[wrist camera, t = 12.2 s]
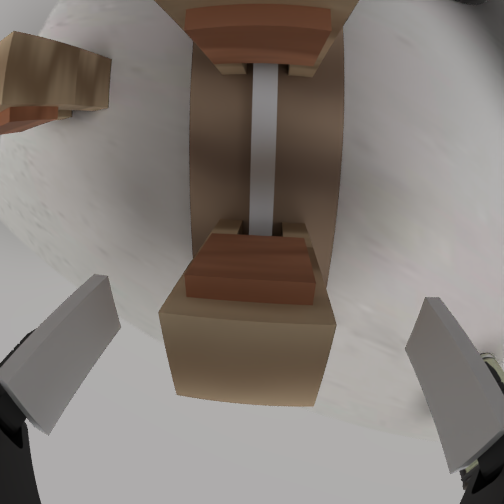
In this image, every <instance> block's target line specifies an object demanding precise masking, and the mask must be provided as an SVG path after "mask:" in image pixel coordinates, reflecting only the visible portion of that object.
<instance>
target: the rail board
mask: <svg viewBox="0 0 504 504" xmlns="http://www.w3.org/2000/svg"><path fill="white" fill-rule="evenodd" d="M343 125H344V41H343V27H342V29H341V30H340V32H339V34H338V35H337V37H336V38H335V40H334V42H333V43H332V45H331V47H330V48H329V50H328V52H327V53H326V55H325V57H324V59H323V60H322V62H321V64H320V65H319V67H318V69H317V70H316V72H315V74H314V76H313V77H304V76H291V75H288V64H271V63H247V70H246V74H228V75H222V74H221V72H220V71H219V70H218V69H217V68H216V66H215V65H214V64H213V63H212V62H211V61H210V59H209V58H208V57H207V56H206V55H205V54H204V53H203V51H202V50H201V49H200V48H199V47H198V46H197V45H196V43H195V42H194V41H193V53H192V69H191V91H190V134H189V164H190V209H191V232H192V251H193V258H194V257H195V255H196V254H197V252H198V251H199V249H200V248H201V246H202V245H203V243H204V242H205V240H206V239H207V237H208V236H209V234H210V233H211V232H212V230H213V229H214V227H215V226H216V224H217V223H218V221H219V220H220V219H227V220H243V226H242V235H260V236H279V237H281V231H282V222H289V223H305V225H306V228H307V231H308V234H309V237H310V240H311V243H312V246H313V249H314V252H315V255H316V258H317V261H318V264H319V268H320V271H321V274H322V277H323V280H324V284H325V287H327V281H328V275H329V268H330V262H331V255H332V248H333V240H334V233H335V225H336V216H337V207H338V197H339V186H340V175H341V161H342V146H343Z"/></svg>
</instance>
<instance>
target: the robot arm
mask: <svg viewBox="0 0 504 504" xmlns="http://www.w3.org/2000/svg"><path fill="white" fill-rule="evenodd" d="M456 1H459V2H462V3H466V4H473V5H476V4H481V3H484V2H486V1H488V0H456ZM120 328H121V325H120V322H119V318H118V315H117V311H116V307H115V303H114V300H113V296H112V292H111V287H110V283H109V279H108V276H105V275H97V274H94V275H93V276H92V277H91V278H89V279H88V280H87V281H86V282H85V283H84V284H83V285H82V286H81V287H79V288H78V289H77V290H76V291H75V292H74V293H73V294H72V295H71V296H70V297H69V298H67V299H66V300H65V301H64V302H63V303H62V304H61V305H60V306H59V307H58V308H57V309H56V310H55V311H54V312H53V313H52V314H51V315H50V316H49V317H48V318H47V319H46V320H45V321H44V322H43V323H42V324H41V325H40V326H39V327H38V328H36V329H35V330H33V331H31V332H30V333H28V334H27V335H26V336H25V337H24V338H23V339H22V340H21V341H20V344H17V346H16V347H15V348H14V350H12V351H11V352H10V353H9V354H8V355H7V357H6V358H5V359H4V360H3V361H2V362H1V363H0V504H41V501H40V498H39V494H38V490H37V485H36V481H35V476H34V471H33V466H32V460H31V453H30V446H29V437H28V429H27V425H26V423H25V422H24V421H25V419H26V418H27V419H28V420H29V421H30V422H31V423H32V424H33V425H34V427H36V428H37V429H39V430H41V431H42V432H44V433H45V434H47V435H49V434H50V433H51V431H52V429H53V428H54V426H55V424H56V423H57V421H58V419H59V418H60V416H61V415H62V413H63V411H64V409H65V408H66V407H67V405H68V404H69V402H70V400H71V399H72V397H73V396H74V394H75V393H76V391H77V390H78V388H79V387H80V385H81V383H82V382H83V381H84V379H85V378H86V376H87V375H88V373H89V372H90V370H91V369H92V367H93V366H94V364H95V363H96V362H97V360H98V358H99V357H100V356H101V354H102V353H103V352H104V350H105V349H106V347H107V346H108V345H109V343H110V342H111V341H112V339H113V338H114V336H115V335H116V334H117V332H118V331H119V330H120ZM405 350H406V352H407V354H408V356H409V359H410V361H411V363H412V366H413V368H414V370H415V373H416V375H417V378H418V380H419V382H420V385H421V387H422V390H423V392H424V395H425V398H426V400H427V403H428V406H429V408H430V411H431V414H432V417H433V419H434V422H435V425H436V428H437V431H438V434H439V437H440V440H441V444H442V447H443V450H444V453H445V457H446V460H447V464H448V468H449V471H450V474H452V473H455V472H457V471H460V470H462V469H465V468H467V467H468V466H469V465H471V464H472V463H473V462H474V461H475V460H478V463H479V464H478V465H476V466H475V467H474V468H473V469H471V470H470V471H469V472H467V473H466V474H465V475H464V476H463V477H462V479H461V480H462V481H464V480H465V479H466V478H468V477H469V476H470V475H471V478H469V479H468V480H467V481H466V482H467V483H468V486H467V488H466V491H465V493H464V496H463V498H462V500H461V502H460V504H504V383H503V382H501V378H500V376H499V375H498V373H497V372H496V370H495V369H494V368H493V367H492V366H491V365H490V364H489V363H488V362H487V361H486V362H484V360H483V359H482V357H481V356H480V354H479V352H478V351H477V349H476V348H475V346H474V345H473V343H472V342H471V340H470V339H469V337H468V336H467V335H466V333H465V332H464V330H463V329H462V327H461V326H460V325H459V323H458V322H457V320H456V319H455V318H454V316H453V315H452V314H451V312H450V311H449V310H448V308H447V307H446V306H445V304H444V303H443V302H442V300H441V299H440V298H439V297H425V299H424V302H423V305H422V308H421V310H420V313H419V316H418V318H417V321H416V323H415V326H414V328H413V331H412V333H411V336H410V338H409V340H408V343H407V345H406V347H405Z"/></svg>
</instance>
